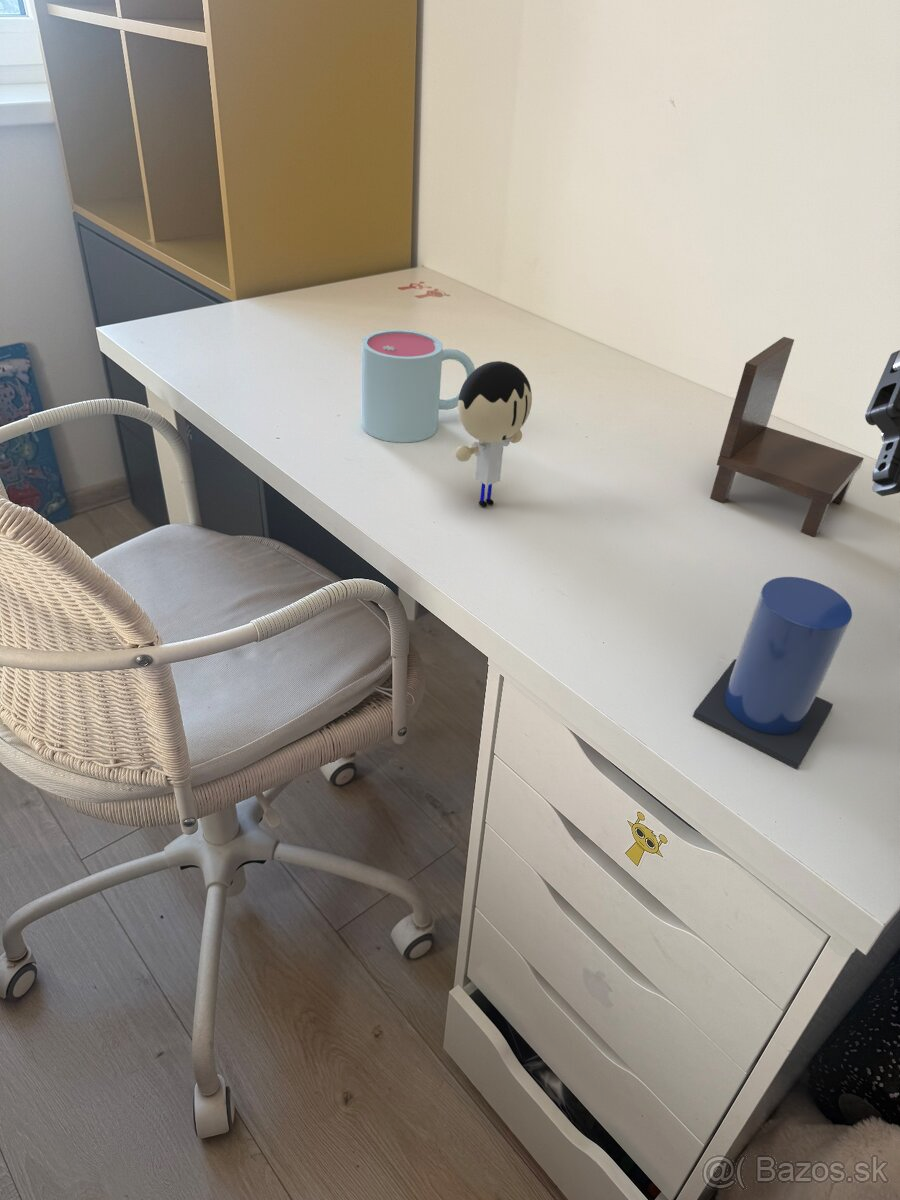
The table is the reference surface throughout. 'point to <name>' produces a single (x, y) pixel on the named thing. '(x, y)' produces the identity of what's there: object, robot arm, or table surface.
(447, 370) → the table surface
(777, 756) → the mat
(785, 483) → the miniature wooden chair
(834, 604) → the canister
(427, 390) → the mug
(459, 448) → the toy
